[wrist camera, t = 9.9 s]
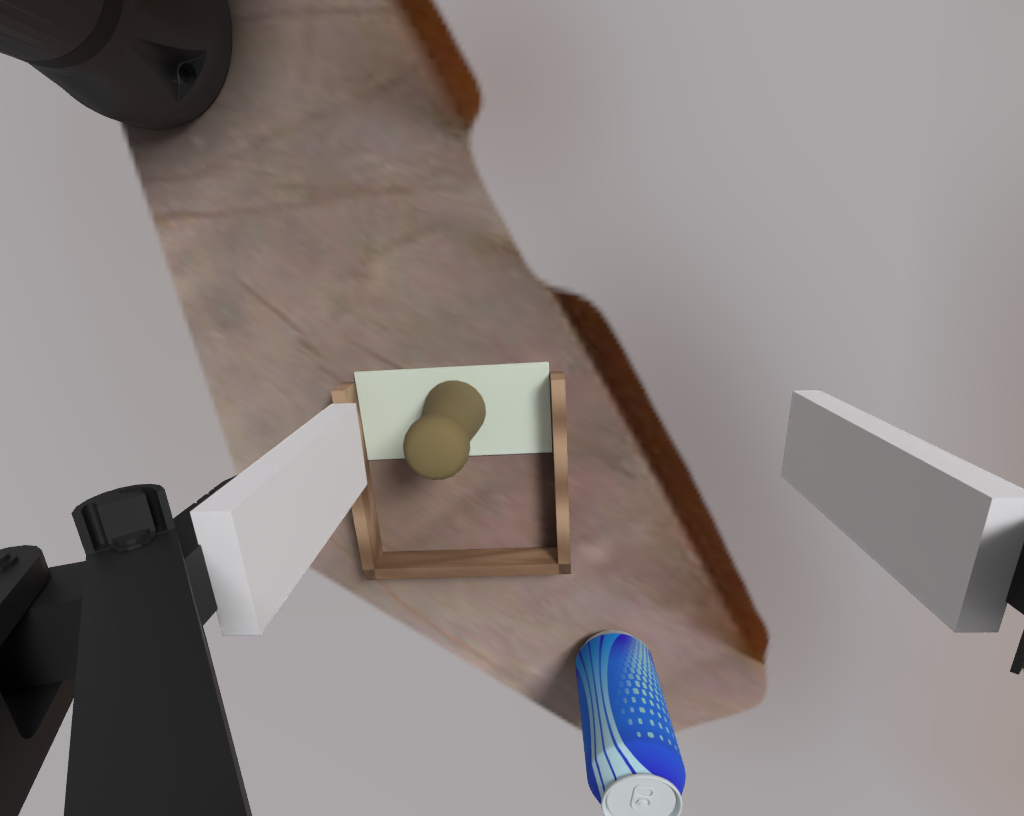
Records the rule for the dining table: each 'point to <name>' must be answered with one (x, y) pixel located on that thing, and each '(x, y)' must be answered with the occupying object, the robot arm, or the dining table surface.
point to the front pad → (504, 387)
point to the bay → (471, 560)
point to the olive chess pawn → (444, 430)
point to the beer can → (627, 729)
